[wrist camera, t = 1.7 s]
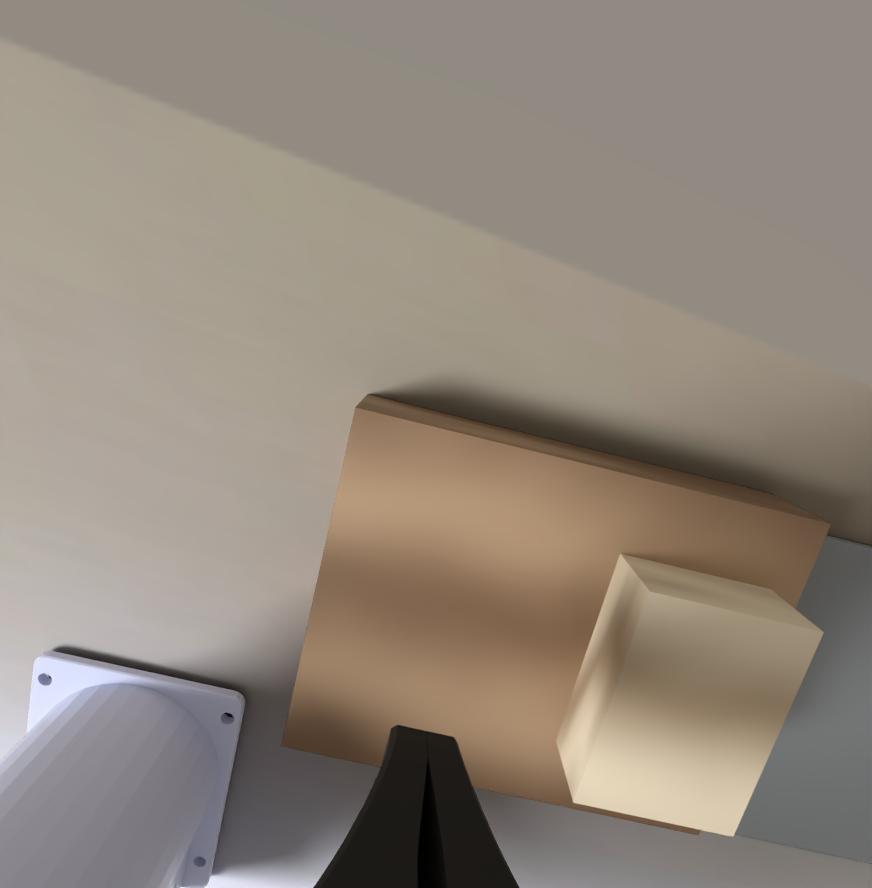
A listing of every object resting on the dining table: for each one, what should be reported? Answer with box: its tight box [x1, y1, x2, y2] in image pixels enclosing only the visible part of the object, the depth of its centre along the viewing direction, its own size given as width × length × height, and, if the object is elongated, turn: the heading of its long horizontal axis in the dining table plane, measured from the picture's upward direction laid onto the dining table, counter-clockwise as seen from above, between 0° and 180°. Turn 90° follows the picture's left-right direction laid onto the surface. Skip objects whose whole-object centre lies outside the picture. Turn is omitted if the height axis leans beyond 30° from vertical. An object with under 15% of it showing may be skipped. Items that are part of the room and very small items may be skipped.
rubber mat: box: [734, 535, 872, 864], centre depth 22 cm, size 13×12×1 cm
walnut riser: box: [281, 394, 831, 835], centre depth 20 cm, size 12×15×3 cm
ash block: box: [556, 553, 824, 837], centre depth 17 cm, size 7×5×2 cm
